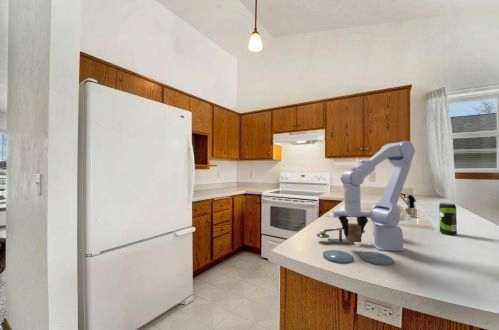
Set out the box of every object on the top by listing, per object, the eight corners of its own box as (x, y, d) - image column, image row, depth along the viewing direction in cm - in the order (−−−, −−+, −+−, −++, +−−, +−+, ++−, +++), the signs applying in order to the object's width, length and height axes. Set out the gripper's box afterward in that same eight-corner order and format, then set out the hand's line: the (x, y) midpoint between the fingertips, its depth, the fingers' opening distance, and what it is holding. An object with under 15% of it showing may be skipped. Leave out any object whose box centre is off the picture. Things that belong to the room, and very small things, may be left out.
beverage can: (455, 233, 108) (454, 203, 109) (458, 236, 103) (457, 204, 103) (438, 231, 112) (438, 202, 112) (441, 234, 106) (440, 203, 107)
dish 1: (347, 252, 82) (347, 250, 82) (357, 264, 72) (357, 261, 72) (320, 251, 83) (320, 249, 83) (326, 262, 73) (326, 260, 74)
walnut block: (356, 238, 87) (356, 223, 87) (361, 242, 83) (361, 226, 83) (345, 238, 88) (344, 223, 88) (348, 241, 83) (348, 226, 83)
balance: (362, 241, 96) (362, 223, 96) (367, 245, 90) (367, 226, 91) (315, 239, 98) (315, 222, 98) (318, 243, 93) (318, 225, 93)
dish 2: (383, 254, 81) (383, 252, 81) (399, 266, 71) (399, 263, 71) (355, 253, 82) (355, 251, 82) (366, 264, 72) (366, 262, 72)
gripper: (336, 202, 82) (336, 238, 82) (376, 202, 81) (377, 239, 80) (331, 199, 89) (331, 232, 89) (368, 200, 88) (369, 234, 87)
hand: (352, 235), depth 85 cm, fingers closed on walnut block, 4 cm apart
